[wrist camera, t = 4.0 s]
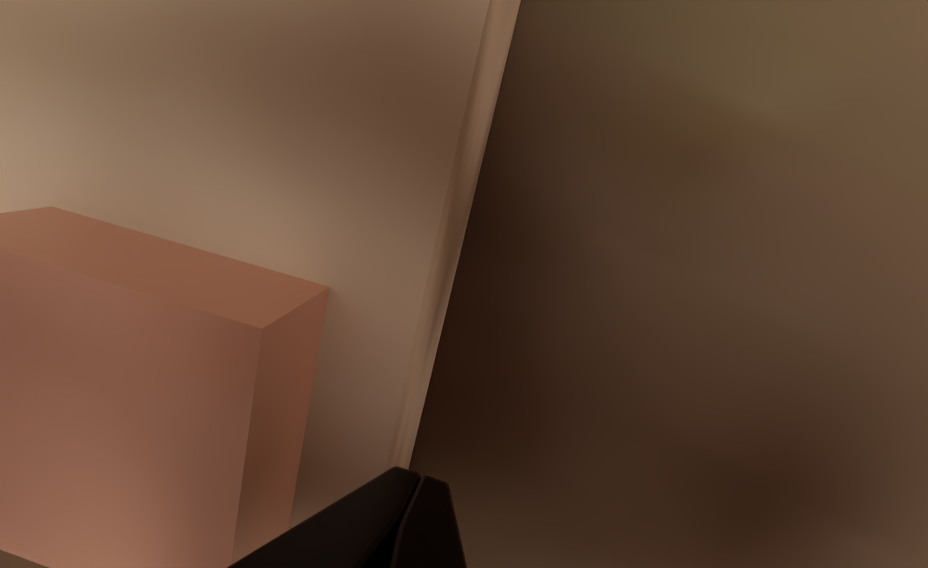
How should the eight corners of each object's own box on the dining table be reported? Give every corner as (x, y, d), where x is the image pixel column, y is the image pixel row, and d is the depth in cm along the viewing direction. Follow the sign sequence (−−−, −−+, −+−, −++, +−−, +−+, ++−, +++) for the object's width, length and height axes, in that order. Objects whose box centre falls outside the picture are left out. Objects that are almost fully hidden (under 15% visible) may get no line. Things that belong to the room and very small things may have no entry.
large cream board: (388, 553, 13) (340, 664, 11) (-30, 410, 15) (-172, 475, 12) (655, -565, 8) (711, -982, 5) (-71, -638, 9) (-369, -1004, 6)
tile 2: (287, 538, 10) (222, 631, 8) (49, 456, 11) (-64, 525, 9) (329, 286, 9) (262, 328, 7) (51, 206, 9) (-84, 223, 7)
